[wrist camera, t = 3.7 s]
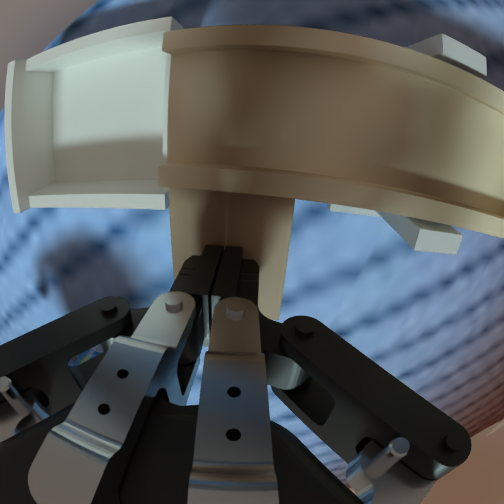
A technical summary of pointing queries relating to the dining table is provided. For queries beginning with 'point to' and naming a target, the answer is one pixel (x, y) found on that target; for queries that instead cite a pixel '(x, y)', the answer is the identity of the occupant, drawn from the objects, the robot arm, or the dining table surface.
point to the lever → (320, 139)
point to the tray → (91, 121)
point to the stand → (413, 229)
